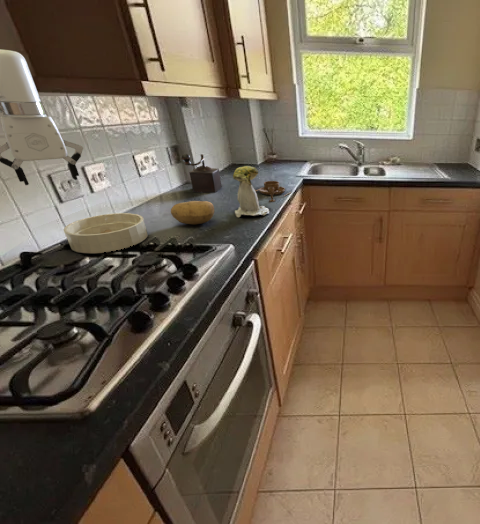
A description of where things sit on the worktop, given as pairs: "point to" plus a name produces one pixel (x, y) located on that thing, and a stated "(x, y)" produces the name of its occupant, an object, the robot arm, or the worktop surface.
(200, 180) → the coffee grinder
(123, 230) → the bowl
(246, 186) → the vase of yellow flowers
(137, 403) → the worktop surface
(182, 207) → the potato
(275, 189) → the place setting
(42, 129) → the robot arm
